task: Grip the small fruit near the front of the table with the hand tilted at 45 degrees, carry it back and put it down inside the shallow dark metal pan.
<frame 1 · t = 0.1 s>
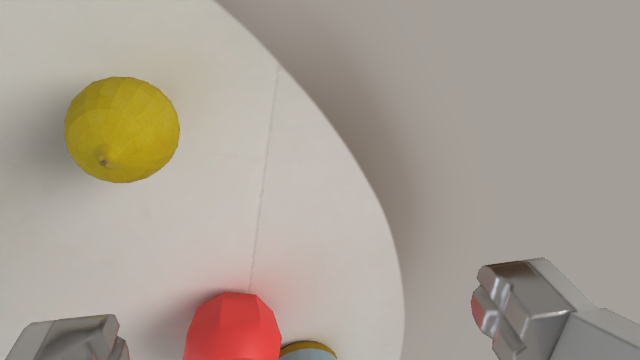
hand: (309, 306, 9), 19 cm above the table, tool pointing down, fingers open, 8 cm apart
apple: (234, 310, 35), on the table
bottle: (301, 359, 39), on the table
fruit: (143, 106, 25), on the table
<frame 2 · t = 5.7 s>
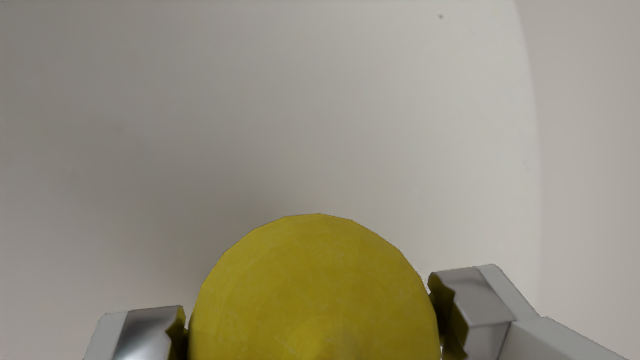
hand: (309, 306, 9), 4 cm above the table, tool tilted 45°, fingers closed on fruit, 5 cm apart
fruit: (300, 320, 13), on the table, touching gripper
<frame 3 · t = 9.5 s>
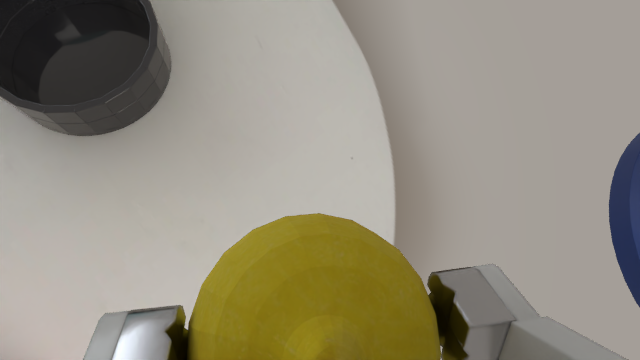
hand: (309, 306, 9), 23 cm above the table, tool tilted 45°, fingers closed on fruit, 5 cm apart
pan: (92, 66, 34), on the table
fruit: (300, 320, 13), point 18 cm above the table, touching gripper
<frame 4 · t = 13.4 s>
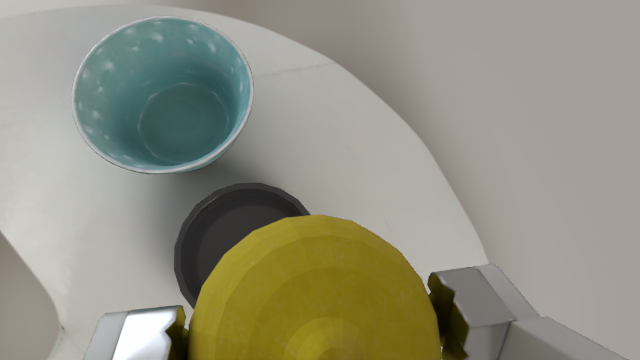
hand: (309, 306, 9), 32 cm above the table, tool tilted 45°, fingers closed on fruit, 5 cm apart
pan: (252, 256, 40), on the table
fruit: (300, 321, 13), point 27 cm above the table, touching gripper
bowl: (185, 126, 43), on the table
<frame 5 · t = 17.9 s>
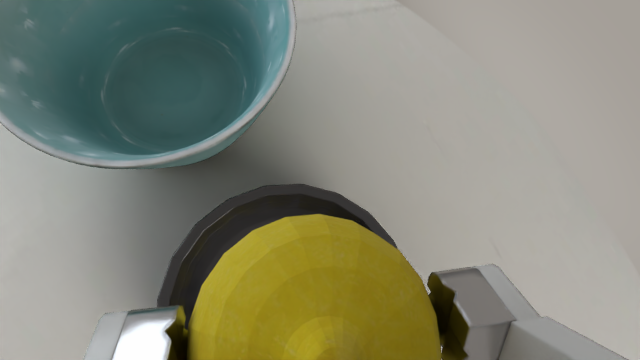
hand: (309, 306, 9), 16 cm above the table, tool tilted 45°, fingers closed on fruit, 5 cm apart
pan: (287, 304, 24), on the table
fruit: (300, 321, 13), point 12 cm above the table, touching gripper
bowl: (177, 96, 27), on the table
when the fingers open (5 cm above the table, at t = 21.5 s): fruit stays where it is, resting on pan.
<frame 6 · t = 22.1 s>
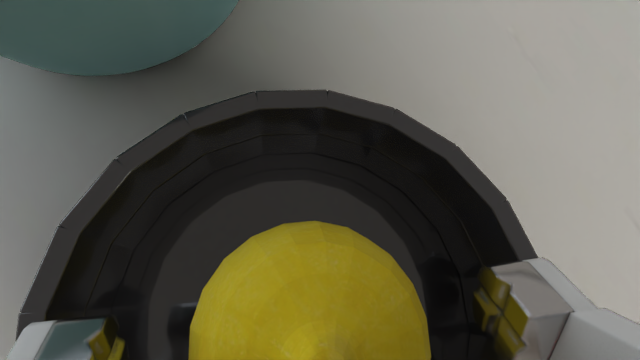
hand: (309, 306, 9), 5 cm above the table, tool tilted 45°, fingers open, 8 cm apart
pan: (297, 319, 14), on the table
fruit: (298, 323, 13), resting on pan
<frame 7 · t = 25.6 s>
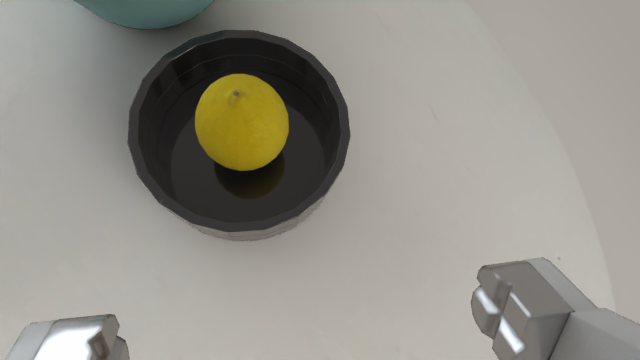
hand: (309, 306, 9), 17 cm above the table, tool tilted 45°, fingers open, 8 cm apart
pan: (247, 148, 28), on the table
fruit: (246, 148, 28), resting on pan
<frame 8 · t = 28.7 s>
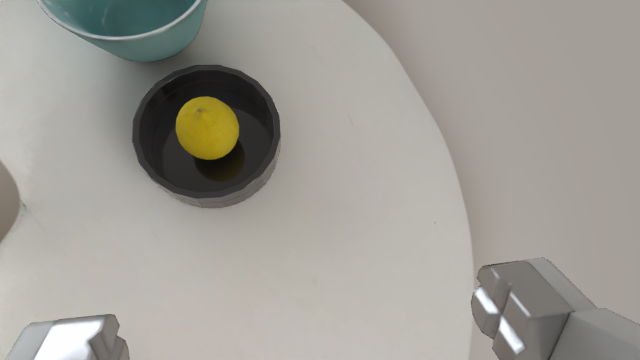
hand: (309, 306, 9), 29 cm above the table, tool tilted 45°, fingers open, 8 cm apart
pan: (215, 145, 40), on the table
fruit: (214, 144, 40), resting on pan
bowl: (150, 24, 43), on the table
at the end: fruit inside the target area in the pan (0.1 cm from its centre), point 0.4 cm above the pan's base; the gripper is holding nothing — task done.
